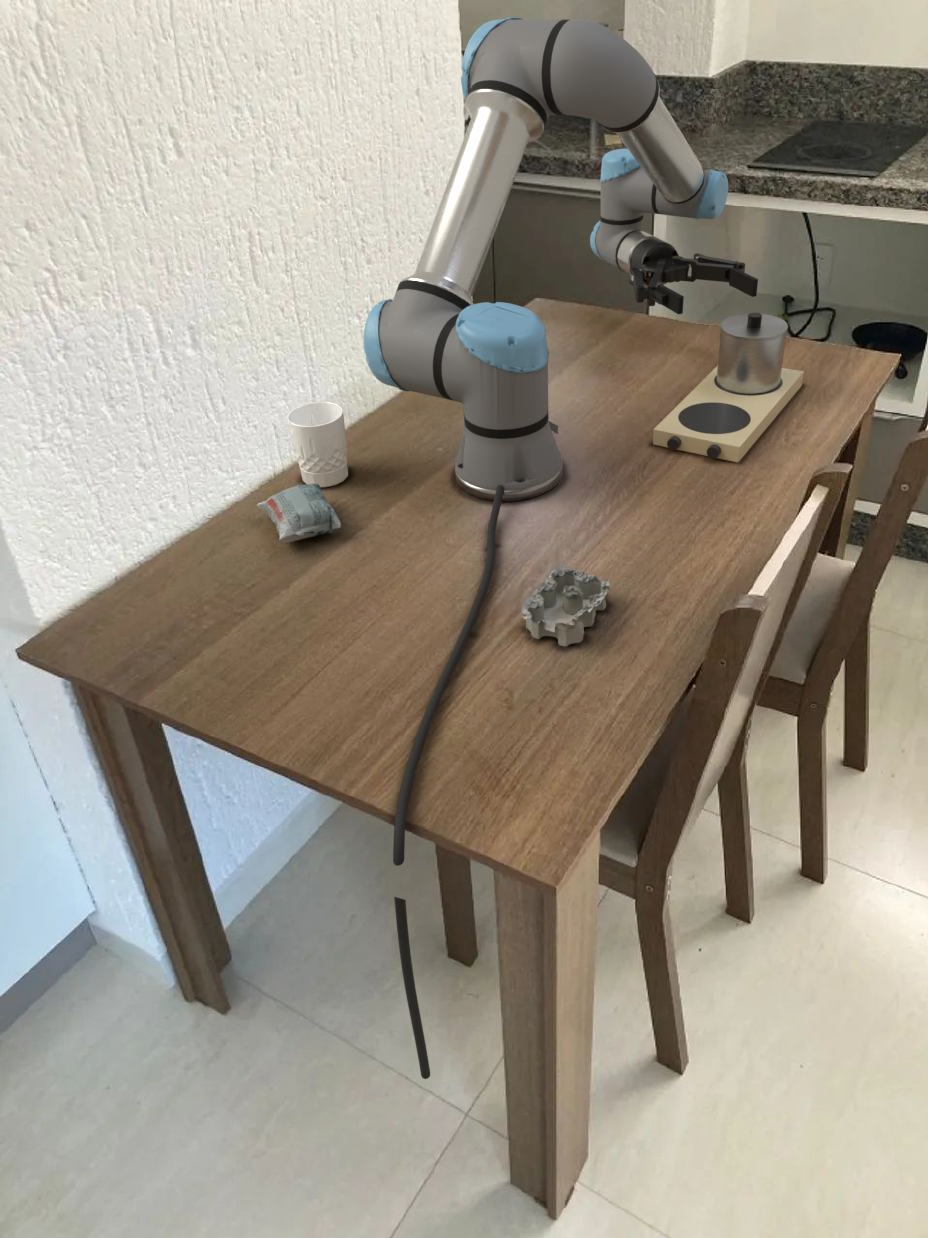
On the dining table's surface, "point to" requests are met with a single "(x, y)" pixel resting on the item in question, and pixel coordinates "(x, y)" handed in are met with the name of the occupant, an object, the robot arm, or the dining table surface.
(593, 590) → the egg carton
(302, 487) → the packaged food
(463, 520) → the dining table surface
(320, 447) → the white cup
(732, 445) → the hot plate
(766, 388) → the pot
